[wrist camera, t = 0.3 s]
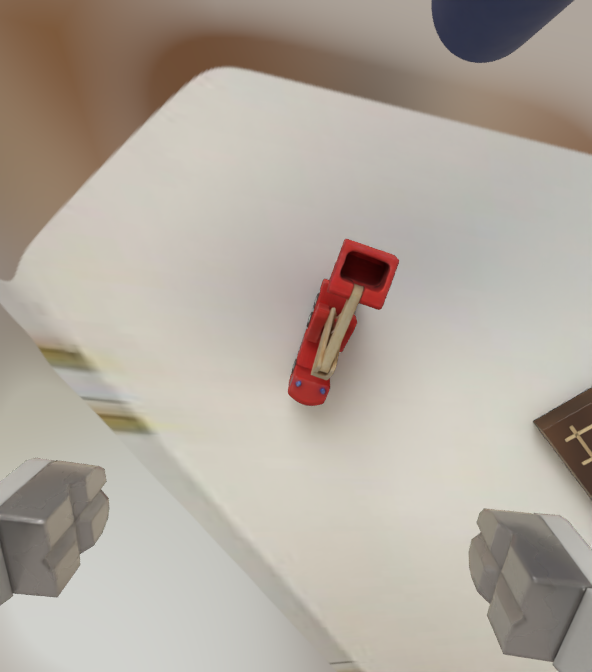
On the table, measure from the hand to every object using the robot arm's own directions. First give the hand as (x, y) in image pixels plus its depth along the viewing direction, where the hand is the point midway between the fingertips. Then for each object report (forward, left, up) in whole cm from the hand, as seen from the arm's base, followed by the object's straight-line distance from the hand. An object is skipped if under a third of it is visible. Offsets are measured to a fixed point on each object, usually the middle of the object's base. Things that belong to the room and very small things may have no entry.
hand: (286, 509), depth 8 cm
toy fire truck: (0, +2, -24) cm, 24 cm away
